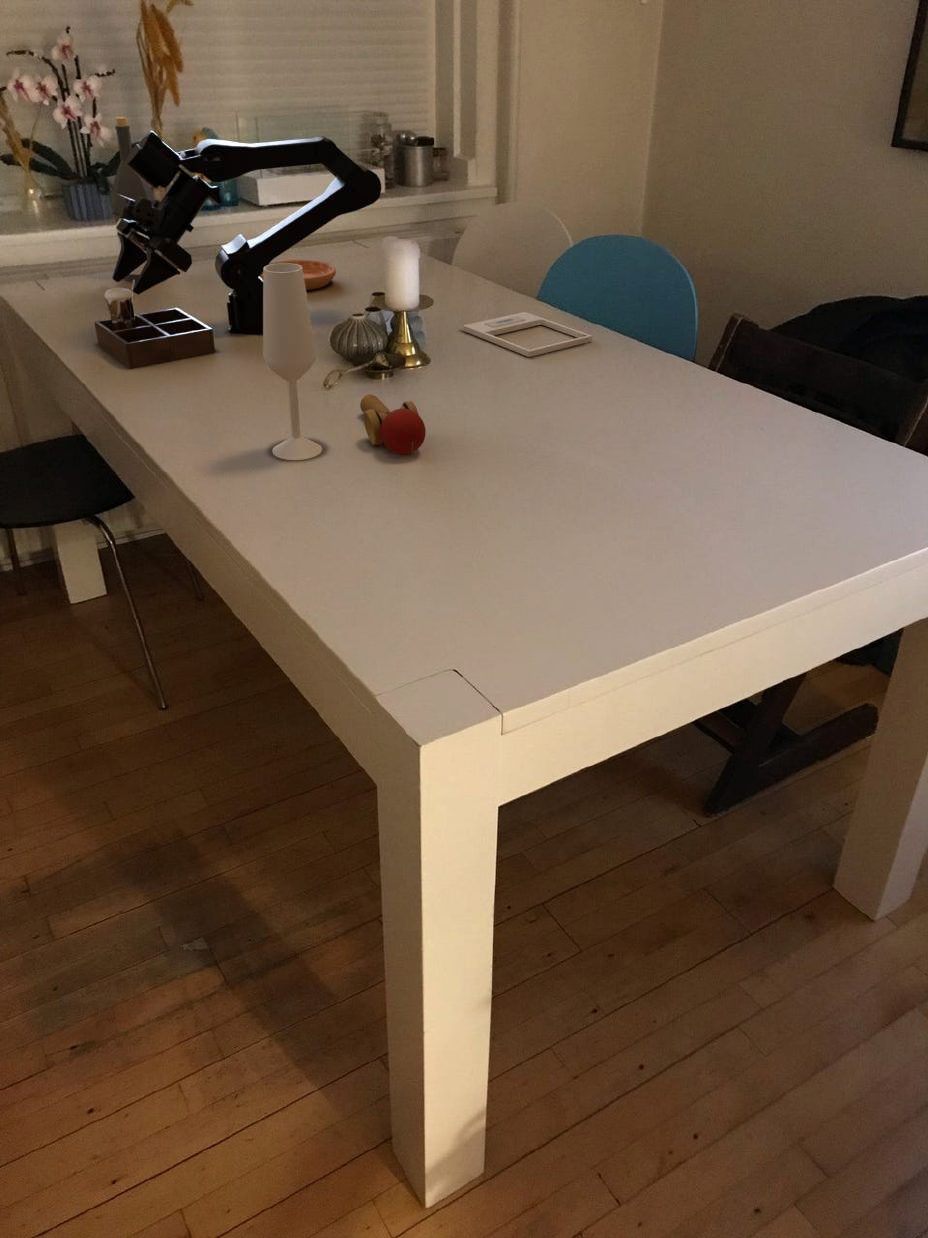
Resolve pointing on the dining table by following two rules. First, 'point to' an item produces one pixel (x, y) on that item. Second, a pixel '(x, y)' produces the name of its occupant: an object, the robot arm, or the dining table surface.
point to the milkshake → (121, 307)
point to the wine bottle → (128, 181)
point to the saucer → (313, 272)
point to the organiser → (156, 338)
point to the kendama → (393, 425)
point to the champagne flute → (288, 345)
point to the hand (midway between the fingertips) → (124, 286)
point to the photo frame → (519, 322)
